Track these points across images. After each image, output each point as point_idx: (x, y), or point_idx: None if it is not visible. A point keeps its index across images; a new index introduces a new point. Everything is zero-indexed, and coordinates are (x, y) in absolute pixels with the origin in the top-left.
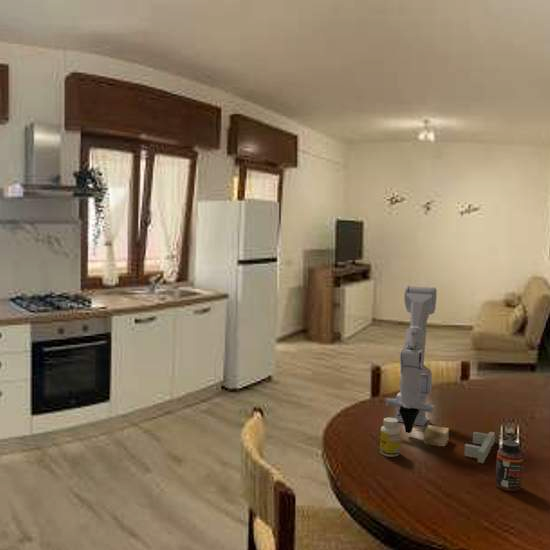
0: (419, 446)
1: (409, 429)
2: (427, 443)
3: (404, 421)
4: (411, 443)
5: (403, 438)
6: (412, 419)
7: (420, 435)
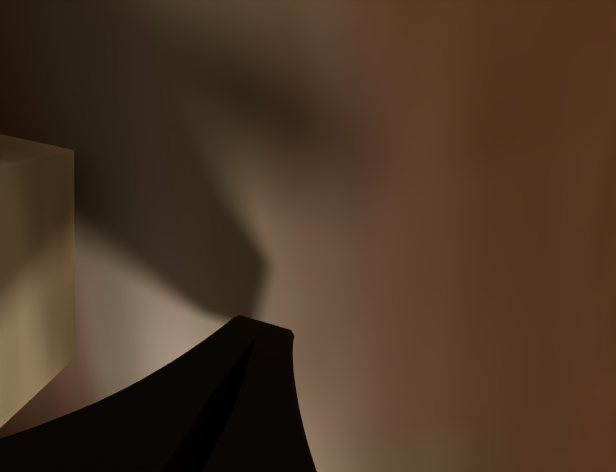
0: (100, 17)
1: (224, 335)
2: (25, 140)
3: (280, 433)
4: (212, 100)
5: (324, 250)
6: (58, 425)
7: None
